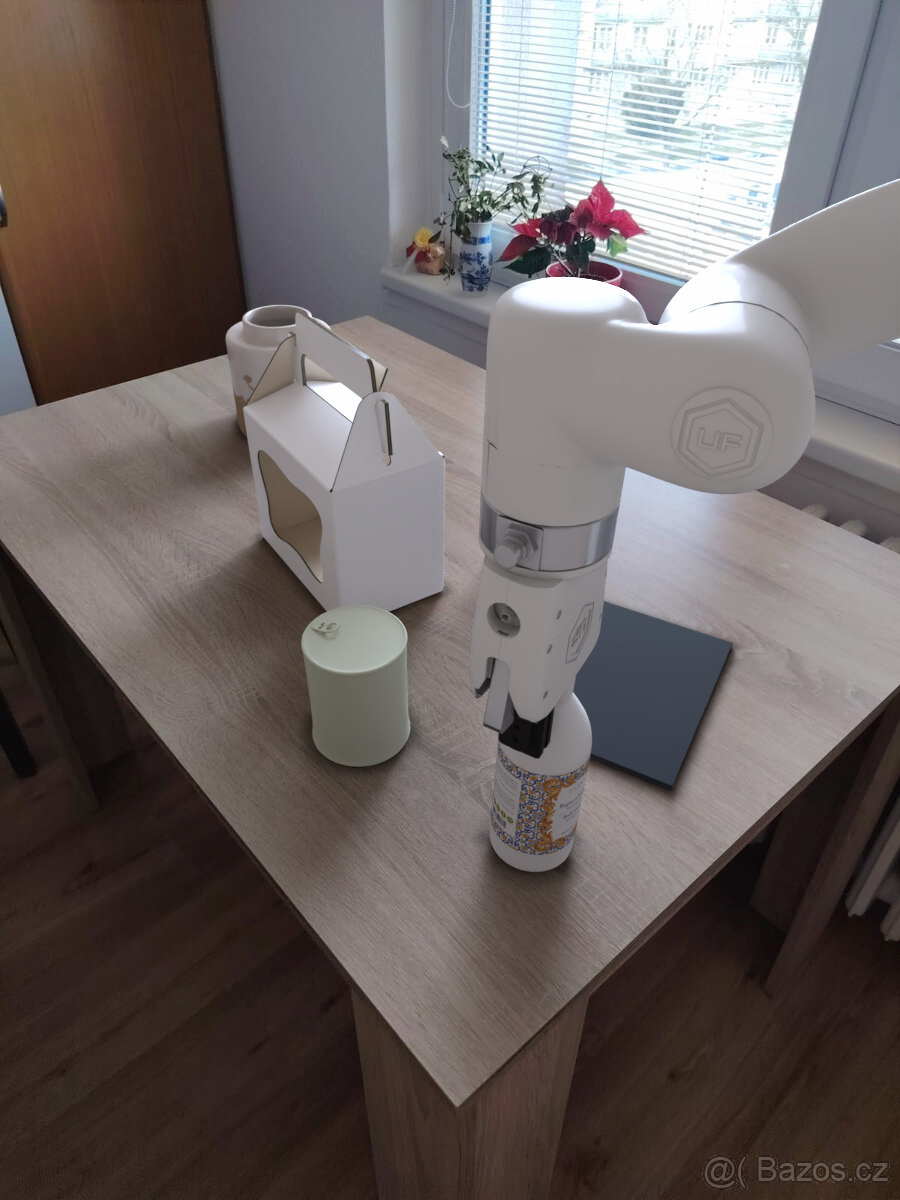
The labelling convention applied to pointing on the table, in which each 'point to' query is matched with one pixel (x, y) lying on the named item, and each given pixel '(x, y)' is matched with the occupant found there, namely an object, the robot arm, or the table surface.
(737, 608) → the table surface
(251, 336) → the vase
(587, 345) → the robot arm
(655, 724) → the mat
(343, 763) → the can
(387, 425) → the gable box
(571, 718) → the bath foam
